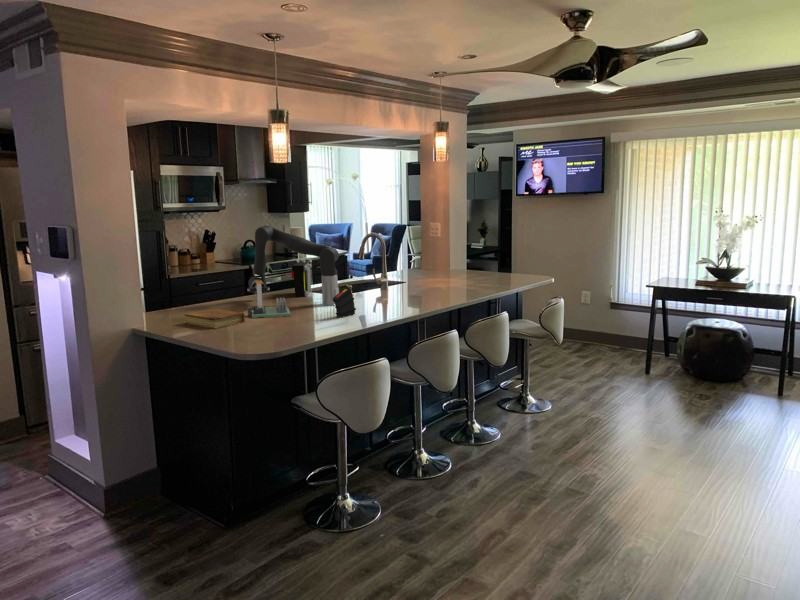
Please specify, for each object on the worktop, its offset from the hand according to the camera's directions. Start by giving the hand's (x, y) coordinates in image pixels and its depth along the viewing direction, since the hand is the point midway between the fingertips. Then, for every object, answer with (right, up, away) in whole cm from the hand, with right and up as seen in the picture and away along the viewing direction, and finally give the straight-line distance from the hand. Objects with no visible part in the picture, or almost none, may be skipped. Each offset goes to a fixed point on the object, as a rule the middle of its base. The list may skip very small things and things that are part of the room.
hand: (258, 291), depth 337 cm
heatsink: (+6, -12, -7) cm, 15 cm away
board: (+8, -12, -7) cm, 16 cm away
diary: (-15, -17, -31) cm, 38 cm away
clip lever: (+3, -11, -12) cm, 17 cm away
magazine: (+49, -13, -16) cm, 53 cm away
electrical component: (+16, -1, +53) cm, 56 cm away
